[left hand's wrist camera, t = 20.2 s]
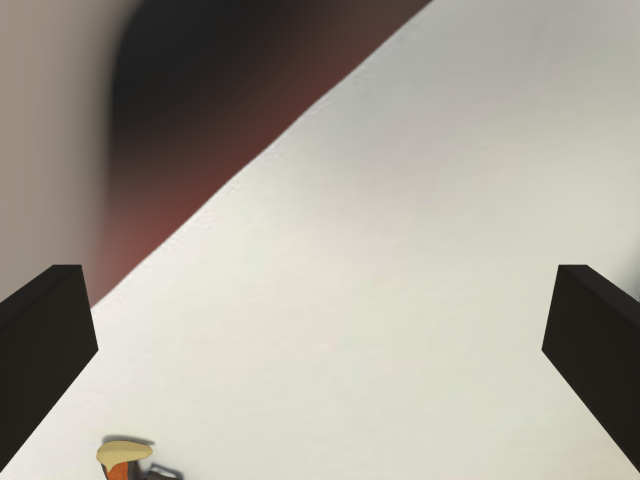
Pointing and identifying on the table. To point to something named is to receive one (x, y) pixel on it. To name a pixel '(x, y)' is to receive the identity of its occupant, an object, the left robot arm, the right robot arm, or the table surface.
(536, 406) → the table surface
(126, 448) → the toy gun
